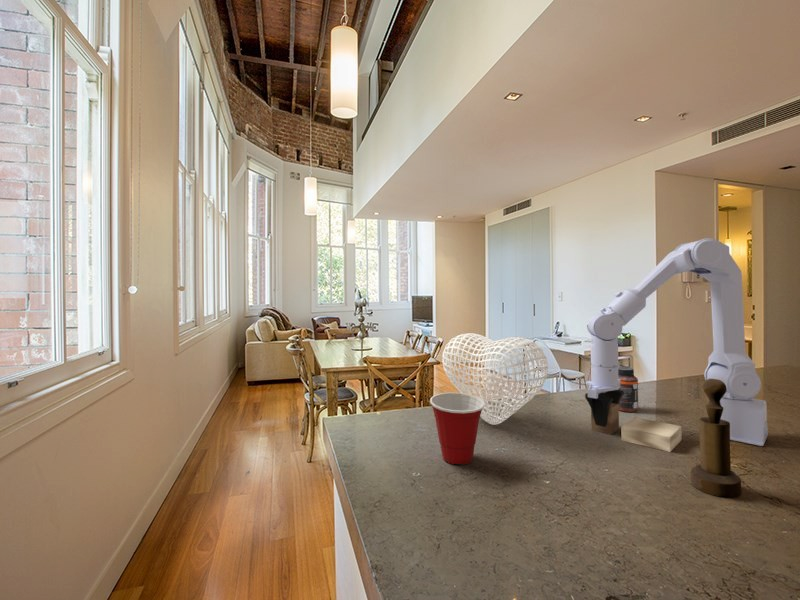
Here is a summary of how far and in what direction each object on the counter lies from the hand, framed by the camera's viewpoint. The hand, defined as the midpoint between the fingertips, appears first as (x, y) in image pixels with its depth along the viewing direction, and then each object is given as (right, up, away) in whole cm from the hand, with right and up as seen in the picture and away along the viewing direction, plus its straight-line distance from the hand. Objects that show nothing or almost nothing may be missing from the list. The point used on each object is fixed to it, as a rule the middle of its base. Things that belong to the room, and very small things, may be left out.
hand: (605, 422), depth 93 cm
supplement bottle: (+13, -1, +15) cm, 20 cm away
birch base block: (+6, -2, -7) cm, 10 cm away
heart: (-25, -2, +5) cm, 26 cm away
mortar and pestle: (+4, -2, -28) cm, 28 cm away
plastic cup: (-37, -3, -15) cm, 40 cm away
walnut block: (0, -2, 0) cm, 2 cm away
